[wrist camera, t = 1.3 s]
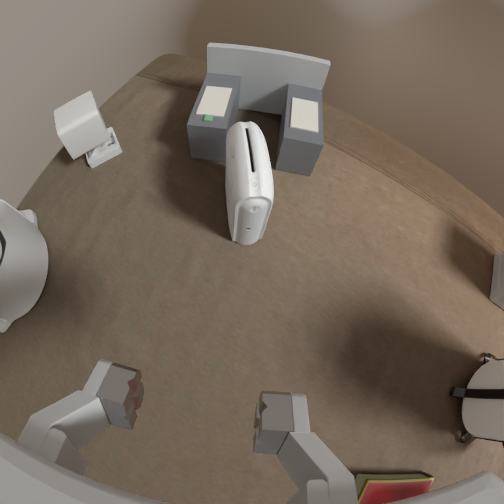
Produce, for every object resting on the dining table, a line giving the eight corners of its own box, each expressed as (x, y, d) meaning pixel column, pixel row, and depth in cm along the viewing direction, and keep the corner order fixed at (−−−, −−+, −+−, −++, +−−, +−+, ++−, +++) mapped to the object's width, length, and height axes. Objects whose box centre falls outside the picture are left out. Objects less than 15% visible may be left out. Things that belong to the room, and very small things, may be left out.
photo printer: (264, 245, 36) (282, 194, 25) (230, 247, 36) (231, 196, 24) (254, 175, 40) (265, 111, 28) (223, 177, 39) (224, 112, 28)
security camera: (76, 149, 39) (52, 109, 30) (113, 129, 41) (95, 85, 32) (83, 175, 38) (56, 134, 28) (123, 154, 39) (103, 108, 30)
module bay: (191, 158, 40) (182, 95, 29) (210, 100, 44) (209, 42, 33) (309, 176, 40) (335, 118, 29) (311, 116, 45) (329, 60, 33)
